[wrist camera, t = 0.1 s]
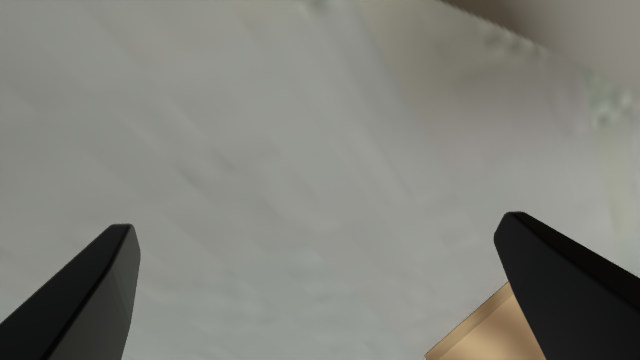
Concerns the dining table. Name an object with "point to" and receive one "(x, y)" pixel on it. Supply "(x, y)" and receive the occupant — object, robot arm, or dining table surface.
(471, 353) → the oak pad
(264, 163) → the dining table surface
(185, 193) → the dining table surface
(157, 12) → the dining table surface
